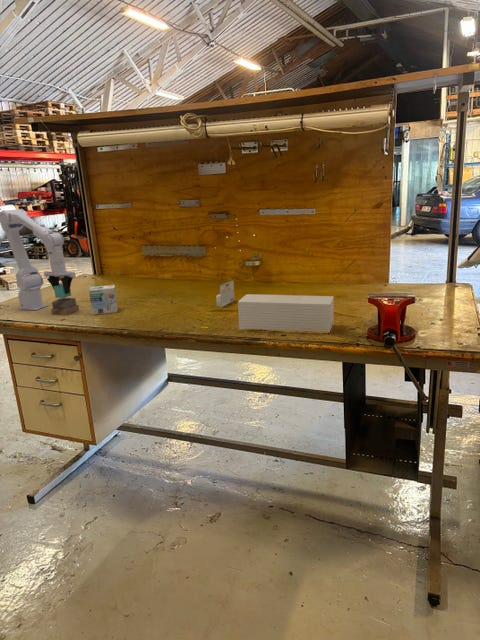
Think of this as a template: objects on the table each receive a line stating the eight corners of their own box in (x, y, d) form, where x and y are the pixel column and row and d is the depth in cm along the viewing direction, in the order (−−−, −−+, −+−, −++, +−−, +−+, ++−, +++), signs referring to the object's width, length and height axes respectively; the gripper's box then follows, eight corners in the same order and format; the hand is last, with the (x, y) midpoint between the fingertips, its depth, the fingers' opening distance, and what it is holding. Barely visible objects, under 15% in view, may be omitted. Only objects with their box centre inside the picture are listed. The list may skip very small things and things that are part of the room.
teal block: (55, 297, 194) (53, 286, 193) (62, 295, 198) (60, 283, 197) (64, 298, 193) (62, 286, 191) (71, 295, 197) (69, 284, 195)
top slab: (53, 309, 194) (51, 302, 193) (61, 304, 200) (60, 298, 199) (68, 308, 192) (66, 302, 191) (76, 304, 199) (75, 297, 198)
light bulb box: (92, 315, 190) (88, 290, 187) (92, 311, 197) (89, 287, 193) (118, 312, 193) (114, 287, 190) (117, 308, 199) (114, 284, 196)
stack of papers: (239, 330, 161) (237, 301, 158) (247, 321, 171) (246, 294, 168) (330, 335, 152) (330, 304, 149) (333, 325, 161) (333, 296, 158)
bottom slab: (52, 315, 195) (51, 309, 194) (64, 310, 202) (62, 304, 201) (68, 316, 192) (66, 309, 192) (79, 311, 200) (78, 304, 199)
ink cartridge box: (216, 307, 192) (215, 284, 189) (230, 300, 201) (229, 279, 199) (221, 307, 191) (220, 285, 188) (235, 301, 200) (233, 279, 197)
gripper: (77, 260, 192) (82, 291, 196) (49, 260, 197) (55, 290, 201) (67, 263, 186) (72, 295, 190) (38, 263, 190) (44, 294, 194)
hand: (62, 293), depth 195 cm, fingers closed on teal block, 4 cm apart
